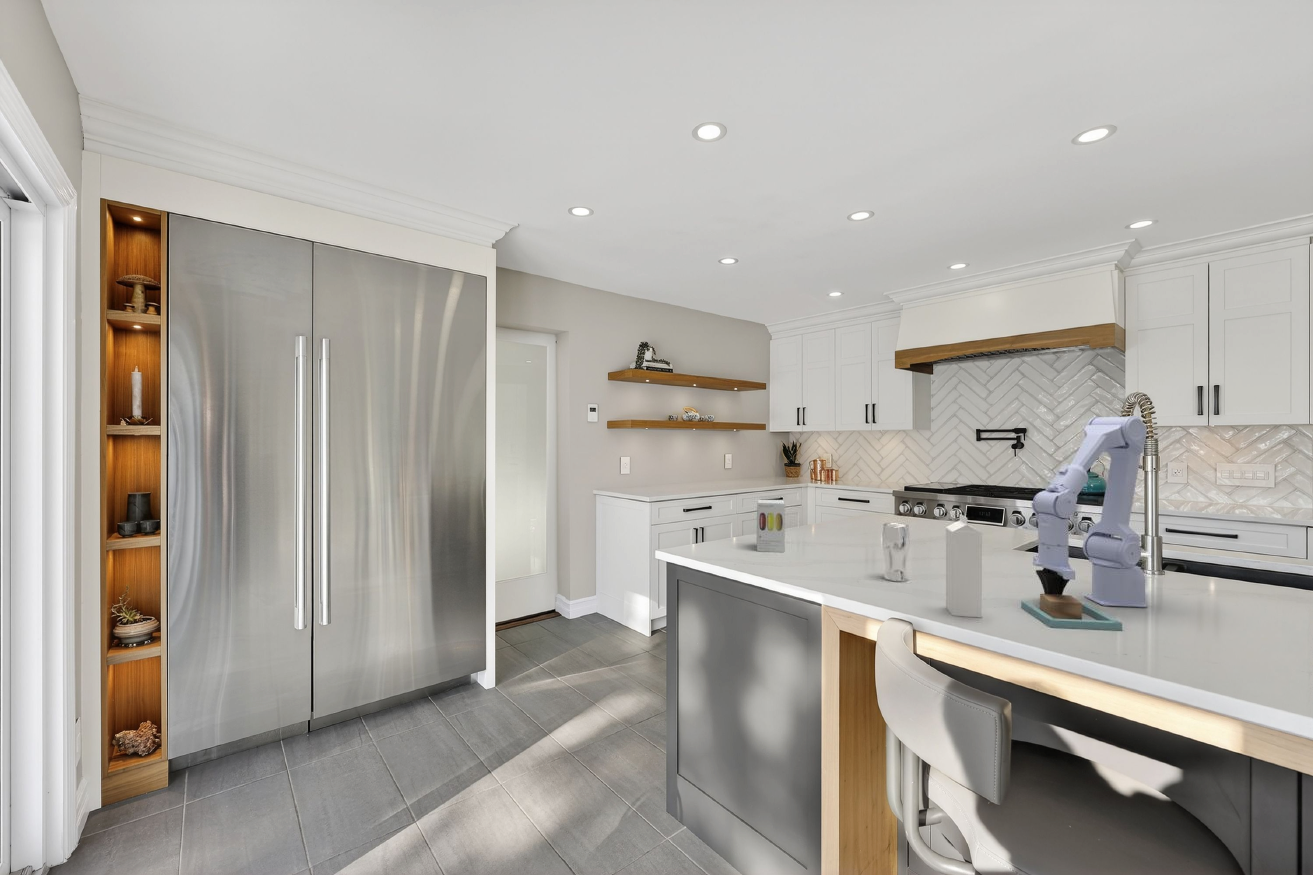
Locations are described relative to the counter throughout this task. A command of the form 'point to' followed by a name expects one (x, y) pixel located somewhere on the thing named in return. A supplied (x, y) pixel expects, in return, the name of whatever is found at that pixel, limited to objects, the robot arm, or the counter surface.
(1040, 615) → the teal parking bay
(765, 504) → the supplement box
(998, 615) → the counter surface
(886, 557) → the beer glass
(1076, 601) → the walnut block
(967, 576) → the milk
